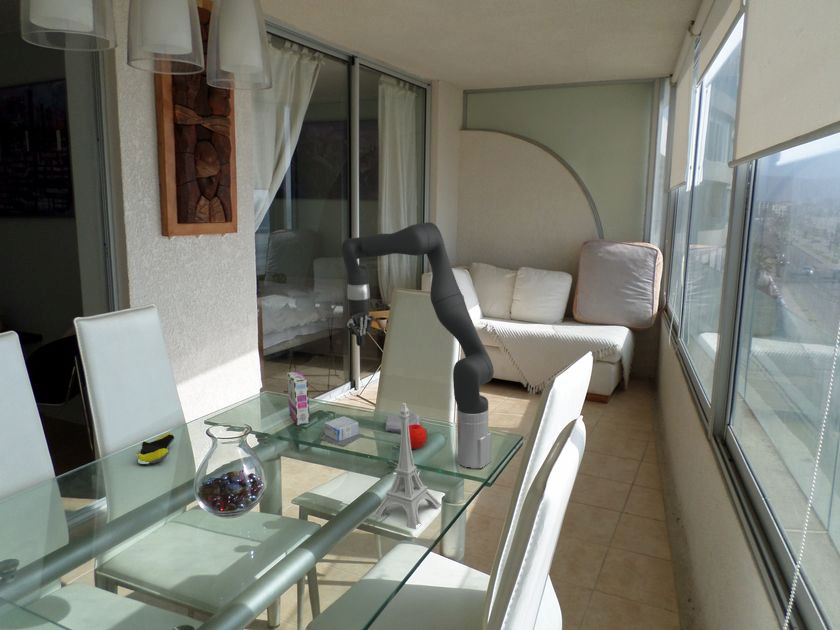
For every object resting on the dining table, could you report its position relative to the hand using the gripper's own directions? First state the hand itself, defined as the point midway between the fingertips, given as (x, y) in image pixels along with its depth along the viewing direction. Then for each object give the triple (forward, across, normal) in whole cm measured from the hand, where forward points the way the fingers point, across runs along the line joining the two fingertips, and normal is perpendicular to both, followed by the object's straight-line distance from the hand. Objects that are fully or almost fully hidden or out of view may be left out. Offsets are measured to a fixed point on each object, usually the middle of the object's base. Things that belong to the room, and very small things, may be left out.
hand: (360, 345), depth 226 cm
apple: (+27, -10, -29) cm, 41 cm away
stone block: (+27, 0, -17) cm, 32 cm away
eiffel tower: (+27, -42, -49) cm, 70 cm away
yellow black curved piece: (+28, -59, +36) cm, 74 cm away
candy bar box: (+28, -13, +19) cm, 36 cm away
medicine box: (+24, -11, -4) cm, 27 cm away
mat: (+27, -17, -4) cm, 32 cm away
